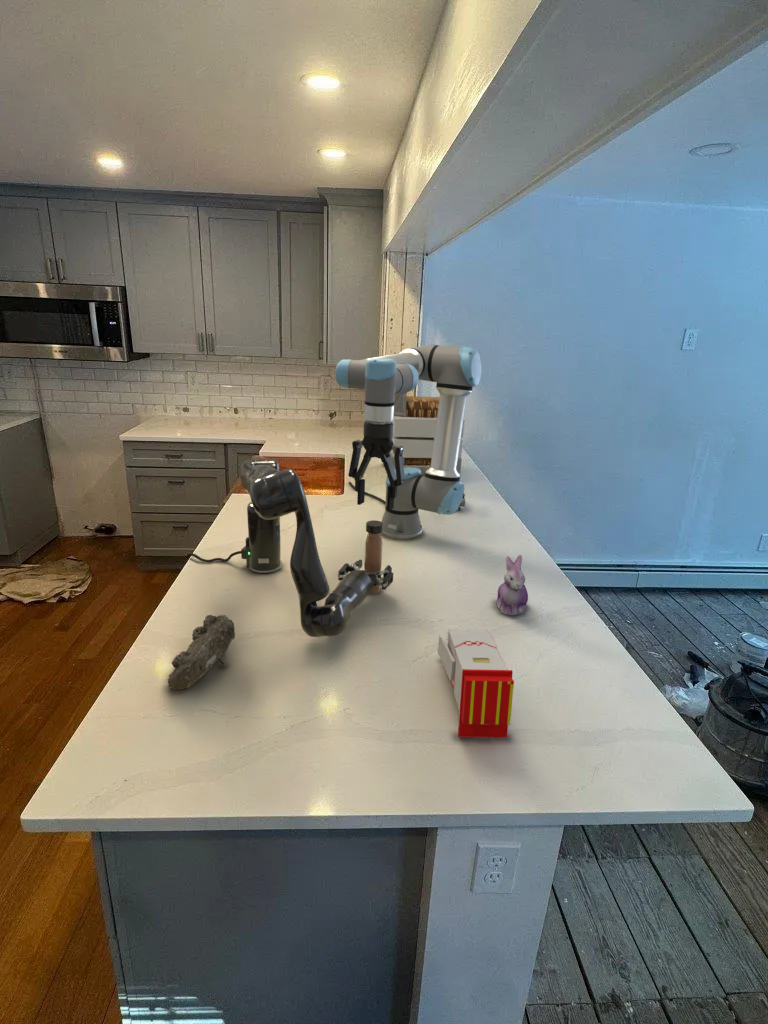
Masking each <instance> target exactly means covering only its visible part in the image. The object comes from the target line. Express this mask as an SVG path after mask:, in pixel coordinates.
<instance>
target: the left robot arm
mask: <svg viewBox="0 0 768 1024" xmlns="http://www.w3.org/2000/svg"><path fill="white" fill-rule="evenodd" d="M239 477H240V483H241V485H242V488H243V490H244V491H245V492H247V493H248V495H249V497H250V502H248V504H247V505H246V506H247V507H246V513H247V515H246V516H247V537H246V538H245V546H243V547H242V548H241V549H240V550H238V551H235V552H232V553H230V554H229V555H228V557H227V558H222V557H215V558H211V559H206V558H202V557H200V556H199V555H198V554H195V553H192V552H191V553H188V554H186V555H185V558H190V557H193V558H195V559H197V560H199V561H200V562H204V563H212V562H213V563H214V562H216V561H220V562H225V563H226V562H228V561H230V560H231V559H232V557H234V556H236V555H241V559H242V560H246V569H249V570H250V571H251V572H253V573H256V574H271V573H274V572H277V571H279V570H280V569H281V568H282V556H281V555H282V553H281V552H282V550H281V549H282V548H281V517H284V516H287V515H290V514H292V513H294V515H295V519H296V520H295V521H296V532H295V538H294V543H293V546H292V551H291V555H290V560H289V569H290V574H291V578H292V581H293V583H294V586H295V589H296V592H297V594H298V601H299V602H298V603H299V614H300V618H299V619H300V626H301V629H302V630H303V632H304V634H306V635H307V636H309V637H310V638H321V637H336V636H340V635H341V634H343V633H344V632H346V630H347V628H348V625H349V621H350V617H351V614H352V613H353V612H354V611H355V609H356V608H357V607H358V606H360V605H361V604H362V603H363V602H364V600H365V599H366V598H367V597H368V595H369V594H371V593H370V592H371V590H372V588H373V587H375V586H377V585H378V586H380V587H381V590H384V591H385V590H387V588H388V587H390V586H391V585H392V583H394V572H392V571H393V567H391V565H390V564H387V566H385V568H384V569H383V570H381V571H379V570H376V571H372V572H370V571H365V570H364V569H361V568H362V567H363V559H359V560H356V561H355V562H353V563H351V564H350V563H347V562H346V563H344V564H343V565H342V567H341V568H340V569H339V570H338V571H337V580H338V581H339V582H338V583H337V585H336V586H335V588H334V589H333V590H332V591H331V592H330V586H329V583H328V579H327V576H326V574H325V570H324V567H323V565H322V561H321V559H320V555H319V550H318V546H317V541H316V537H315V531H314V526H313V521H312V517H311V512H310V508H309V504H308V500H307V496H306V492H305V489H304V486H303V483H302V481H301V478H300V476H299V475H298V474H297V472H296V471H295V470H294V469H293V468H287V469H282V470H281V467H280V463H279V461H278V460H276V459H275V458H259V459H258V458H257V459H247V460H244V462H243V463H242V464H241V467H240V473H239ZM376 574H377V577H376V576H375V575H376ZM382 575H383V576H382ZM323 599H325V600H324V604H323V605H318V603H317V602H320V601H322V600H323Z"/></svg>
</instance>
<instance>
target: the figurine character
mask: <svg viewBox="0 0 768 1024" xmlns="http://www.w3.org/2000/svg"><path fill="white" fill-rule="evenodd" d="M465 496H466V494H465V493H464V495H463V498H462V501H461V503H460V506H459V507H458V509H457V510H458V511H461V510H462V509H461V508H465V505H466V497H465Z"/></svg>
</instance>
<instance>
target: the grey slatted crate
mask: <svg viewBox="0 0 768 1024" xmlns="http://www.w3.org/2000/svg"><path fill="white" fill-rule="evenodd" d="M407 394H408V392H407V393H405V394H403V393H402V394H397V395H395V399H394V420H393V421H392V423H393V438H392V441H393V444H394V445H396V446H399V447H400V446H403V447H404V450H403V455H402V456H403V466H404V467H405V466H406V467H409V466H411V467H417V466H418V467H430V466H431V459H432V451H433V444H434V436H435V428H436V421H437V413H438V405H439V398H440V396H415V395H414V396H413V395H412V396H411V395H407ZM464 429H465V419H464V418H463V425H462V432H461V439H460V446H459V454H458V461H457V468H456V470H457V472H458V473H459V475H460V476H461V472H462V461H463V460H462V453H463V442H464V441H463V440H462V439H463V438H464V431H465V430H464ZM389 453H390V456H391V461H392V464H393V467H394V469H396V468H395V459H394V456H395V454H393V450H391V451H390V452H389ZM459 481H460V482H461V478H460V479H459Z"/></svg>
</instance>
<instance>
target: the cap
mask: <svg viewBox="0 0 768 1024" xmlns="http://www.w3.org/2000/svg"><path fill="white" fill-rule="evenodd" d="M365 532H367V534H368V533H371V534H379V533H382V532H383V523H382V520H381V521H380V520H368V521H366V522H365Z"/></svg>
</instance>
